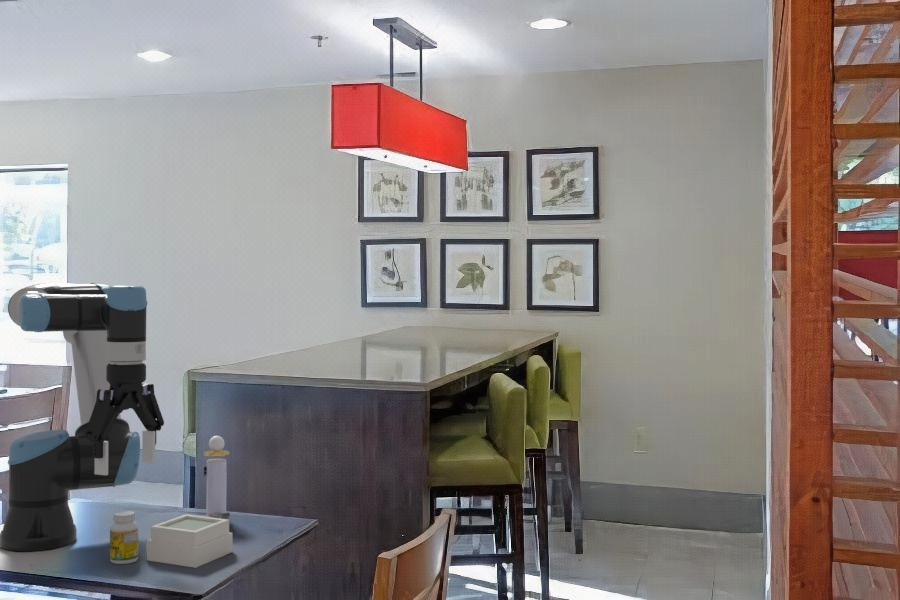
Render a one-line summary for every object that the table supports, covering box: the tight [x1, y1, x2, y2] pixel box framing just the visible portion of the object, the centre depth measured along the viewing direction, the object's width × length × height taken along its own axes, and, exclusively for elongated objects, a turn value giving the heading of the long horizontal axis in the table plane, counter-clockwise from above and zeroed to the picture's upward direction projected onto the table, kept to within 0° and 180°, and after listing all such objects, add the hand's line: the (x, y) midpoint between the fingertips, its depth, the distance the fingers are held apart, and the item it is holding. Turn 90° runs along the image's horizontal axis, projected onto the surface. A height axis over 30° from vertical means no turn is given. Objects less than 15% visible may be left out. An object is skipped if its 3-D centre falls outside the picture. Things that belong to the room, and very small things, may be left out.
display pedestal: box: [146, 513, 234, 569], centre depth 190 cm, size 12×12×7 cm
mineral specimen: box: [199, 512, 232, 524], centre depth 208 cm, size 6×12×4 cm, turn 117°
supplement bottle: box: [109, 510, 139, 565], centre depth 187 cm, size 5×5×10 cm
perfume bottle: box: [203, 435, 230, 515], centre depth 219 cm, size 6×6×20 cm
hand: (125, 468), depth 187 cm, fingers open, 13 cm apart
